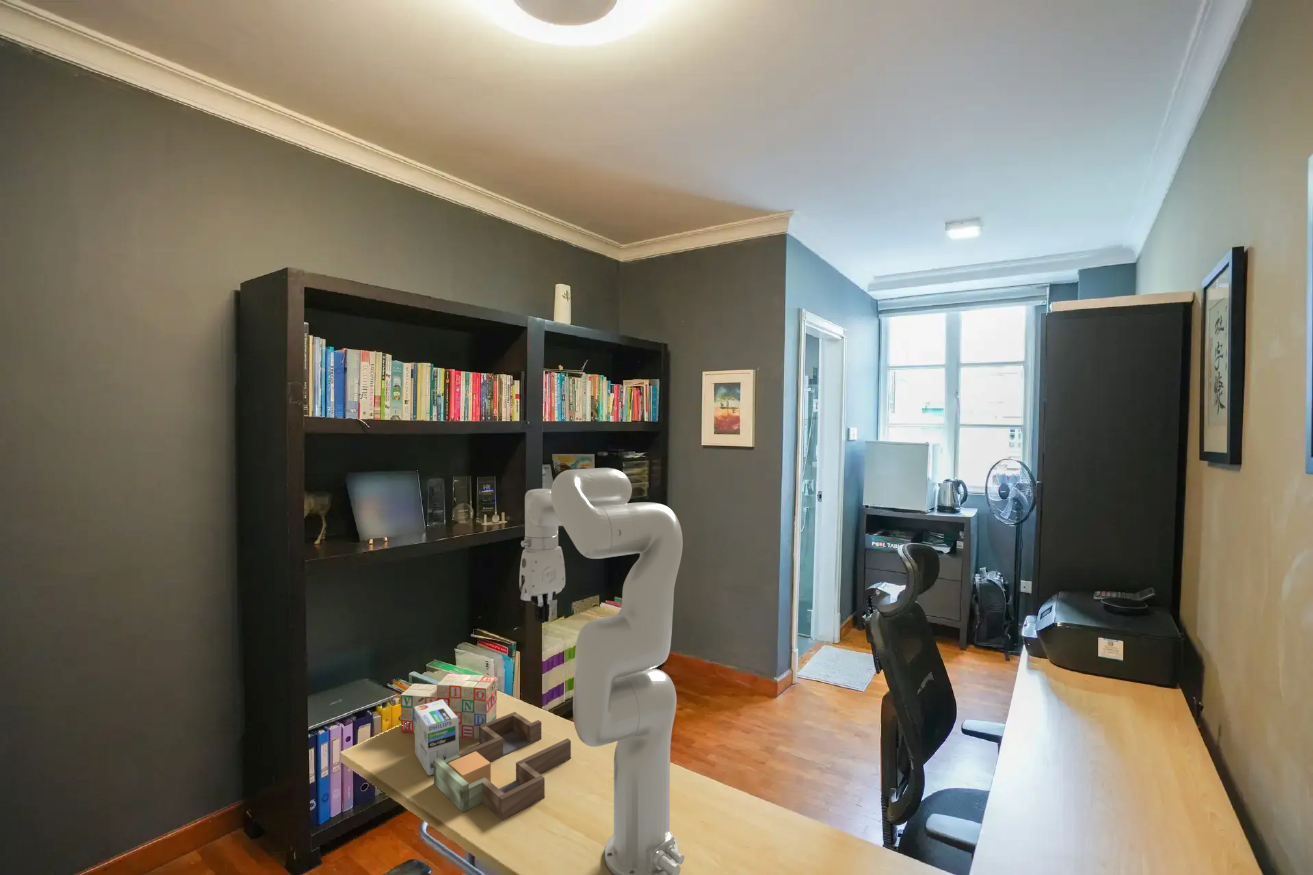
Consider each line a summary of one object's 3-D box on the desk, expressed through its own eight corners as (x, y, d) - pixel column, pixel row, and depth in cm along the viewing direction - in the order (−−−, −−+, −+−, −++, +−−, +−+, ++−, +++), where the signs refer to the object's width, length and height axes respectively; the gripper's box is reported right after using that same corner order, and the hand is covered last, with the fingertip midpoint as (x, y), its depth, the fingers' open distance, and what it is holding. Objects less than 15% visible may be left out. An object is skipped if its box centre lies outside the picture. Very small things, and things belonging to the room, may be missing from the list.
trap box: (591, 772, 126) (591, 748, 126) (482, 830, 108) (482, 803, 108) (521, 725, 145) (521, 705, 144) (418, 768, 127) (418, 745, 127)
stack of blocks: (400, 733, 141) (399, 681, 141) (414, 719, 147) (413, 670, 147) (486, 739, 138) (486, 687, 138) (497, 725, 145) (497, 675, 144)
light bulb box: (460, 766, 128) (459, 716, 128) (427, 777, 124) (427, 726, 123) (444, 744, 136) (443, 697, 136) (413, 753, 132) (412, 706, 132)
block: (490, 787, 121) (490, 762, 121) (462, 800, 117) (462, 775, 116) (476, 774, 125) (475, 751, 125) (448, 786, 121) (448, 762, 121)
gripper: (522, 550, 130) (523, 633, 131) (577, 540, 141) (577, 617, 142) (504, 545, 136) (504, 624, 136) (558, 535, 146) (558, 609, 147)
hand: (541, 620), depth 139 cm, fingers closed
